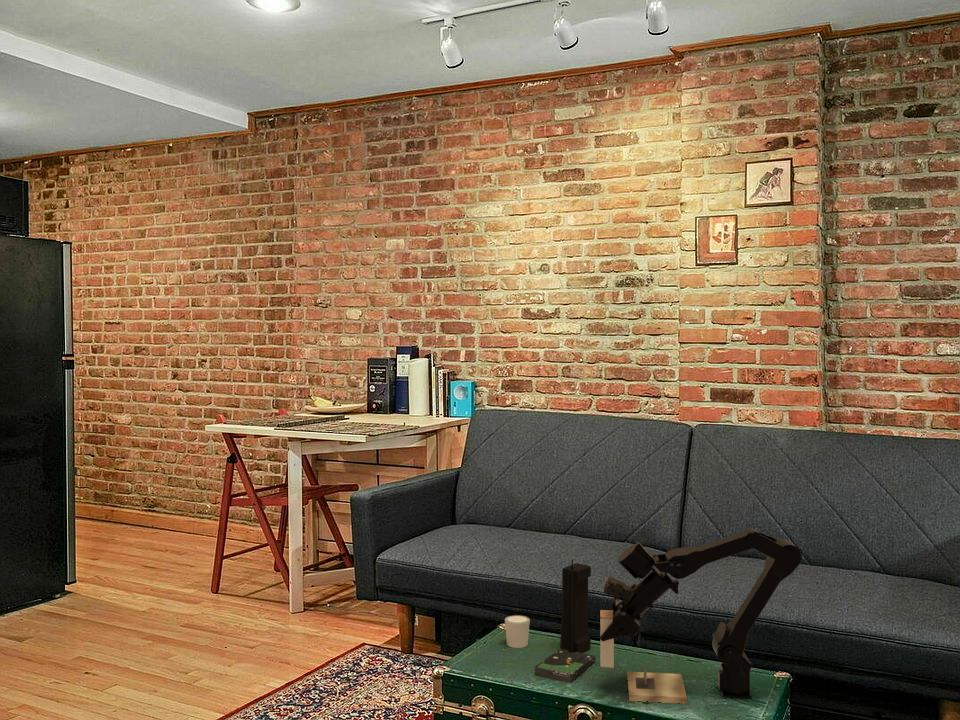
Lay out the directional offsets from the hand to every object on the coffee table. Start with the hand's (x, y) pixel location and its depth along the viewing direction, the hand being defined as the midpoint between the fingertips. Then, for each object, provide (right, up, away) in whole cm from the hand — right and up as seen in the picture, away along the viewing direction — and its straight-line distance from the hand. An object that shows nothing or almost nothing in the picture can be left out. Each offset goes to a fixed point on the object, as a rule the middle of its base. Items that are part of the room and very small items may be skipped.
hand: (601, 635), depth 212 cm
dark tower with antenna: (-3, -12, +26) cm, 29 cm away
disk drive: (-7, -13, +12) cm, 19 cm away
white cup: (-19, -12, +30) cm, 37 cm away
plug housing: (+1, -7, 0) cm, 7 cm away
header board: (+13, -13, -1) cm, 18 cm away
